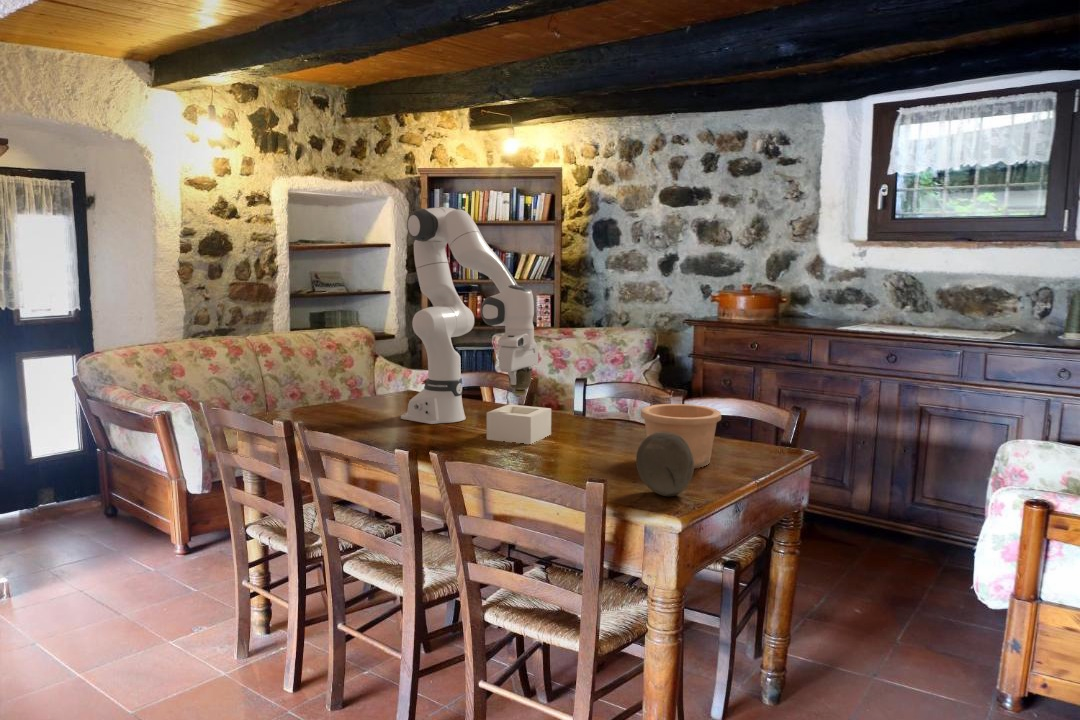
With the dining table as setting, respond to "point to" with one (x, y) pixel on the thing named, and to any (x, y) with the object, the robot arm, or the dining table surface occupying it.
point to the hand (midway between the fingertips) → (519, 382)
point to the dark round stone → (665, 463)
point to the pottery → (685, 426)
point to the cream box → (518, 424)
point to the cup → (522, 381)
